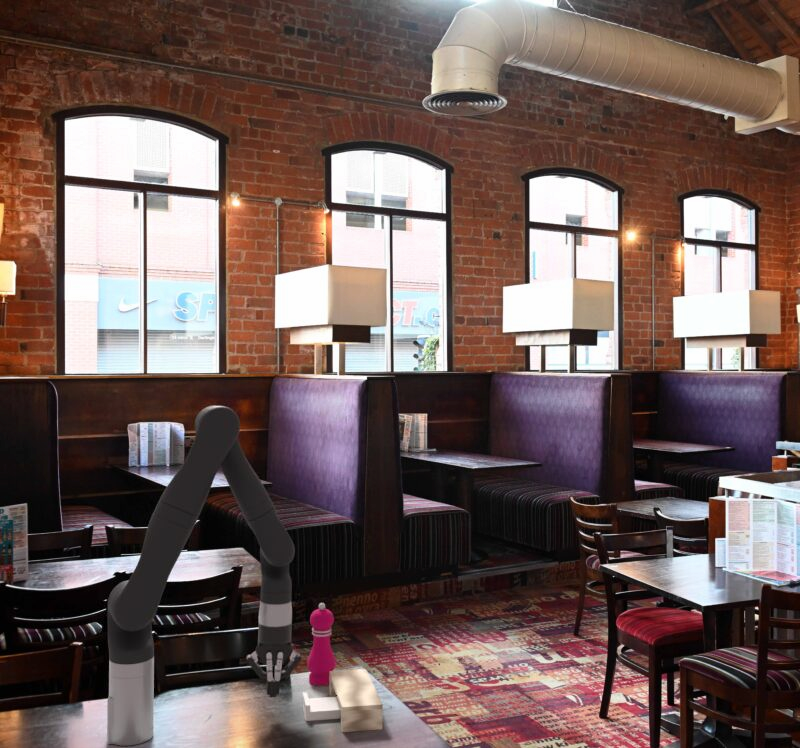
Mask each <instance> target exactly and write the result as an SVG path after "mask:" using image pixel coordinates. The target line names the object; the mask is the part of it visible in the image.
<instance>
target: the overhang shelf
mask: <svg viewBox="0 0 800 748" xmlns="http://www.w3.org/2000/svg"><path fill="white" fill-rule="evenodd" d="M328 688H329V689H328V690H329V692H328V693H329V697H337V698H338V701H339V704H340V707H341V719H340V729H341V732H342V733H350V732H361V731H362V732H363V731H376V730H383V716H384V715H383V711H384V710H383V705H384V704H383V703H382V700H381V699H380V696H379V693H378V692H377V689H376V688H375V685H374V683H373V681H372V679H371V677H370V675H369V673H368V671H367V669H366V668H361V669H360V668H357V669H341V670H333V671H330V672H329V687H328ZM336 695H337V696H336Z"/></svg>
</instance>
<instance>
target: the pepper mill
mask: <svg viewBox="0 0 800 748" xmlns="http://www.w3.org/2000/svg"><path fill="white" fill-rule="evenodd" d="M334 620H335V619H334V615H333V612H332V611H331V610H329V609H327V608H326V604H325V603H324V602H320V603H319V604H318V608H317V609H314V610H313V611H312V613H310V618H309V622H310V625H311V626H312V628H311V631H312V632H311V635H313V642H312V643H313V645H312V648H311V651H310V653H309V655H308V658H307V662H306V663H307V665H306V667H307V669H308V671H309V672H310V673H309V674H308V683H310V684H311V685H313V686H318V687H319V686H322V685H324V686H328V684H329V672H330V671H335V669H336V665H337V664H336V656H335V655H334V652H333V649H332V647H331V646H332V645H331V640H330V639H331V635H332V627H333V626H332V625H333V624H334V622H335V621H334Z"/></svg>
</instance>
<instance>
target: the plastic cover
mask: <svg viewBox="0 0 800 748" xmlns="http://www.w3.org/2000/svg"><path fill="white" fill-rule="evenodd" d="M302 710H303V716H304V720H305V721H306V722H309V721H310V722H311V721H324V720H325V721H326V720H338V719H339V718H340V720H341V707H340V704H339V701H338V698H337V696H327V697H326V696H325V697H311V698H309V695H308V692H302Z"/></svg>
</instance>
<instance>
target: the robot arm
mask: <svg viewBox="0 0 800 748" xmlns="http://www.w3.org/2000/svg"><path fill="white" fill-rule="evenodd" d="M240 429H241V422H240V419H239V416H238V414H237V413H236V411H234V410H233V409H232V408H230V407H228V406H224V405H209V406H207V407H205V408H202V410H201V411H199V413H198V414H197V416H196V418H195V422H194V431H195V436H194V440H193V441H192V442H193V443H192V445H191V447H190V449H189V451H188V453H187V454H188V455H187V456H186V458H185V460H184V462H183V464H182V465H181V466H180V468H179V469H178V471H176V473H175V475H174V476H173V477H172V479H171V480H170V481H169V483H168V484H167V486H166V487H165V489H164V491H163V493H162V495H160V497H159V500H158V502H157V504H156V506H155V509H154V511H153V513H152V514H151V517H150V520H149V521H148V522H149V523H148V525H147V528H146V531H145V532H146V533H145V538H144V541H143V543H142V544H143V545H142V549H141V554H140V557H139V559H138V562H137V564H136V566H135V569H134V570H133V572H132V574H131V576H130V578H129V579H128V580H124V581H121V582H119V583H118V584H117V585H116V586H114V587H113V589H112V591H111V592H110V594H109V597H108V600H107V645H108V646H107V647H108V654H109V655H108V659H109V660H108V662H109V663H108V664H109V666H108V669H109V670H108V698H107V700H106V701H107V704H106V707H107V711H106V712H107V714H106V717H107V718H106V719H107V721H106V722H107V723H106V729H107V731H106V743H107V745H111V744H112V745H116V746H135V745H140V744H143V743H146V742H147V741H149V740H151V739H152V738H153V737H154V729H155V728H154V727H155V726H154V709H155V708H154V706H155V705H154V704H155V698H154V696H155V693H154V688H155V683H154V682H155V681H154V680H155V676H154V675H155V643H154V638H153V629H152V620H153V619H154V618H155V616H156V614H157V612H158V607H159V605H160V602H161V600H162V597H163V596H162V595H164V594H163V593H164V591H165V589H166V585H167V582H168V579H169V577H170V575H171V572H172V570H173V569H174V567H175V564H176V563H177V561H178V559H179V558H180V556H181V553H182V551H183V549H184V547H185V545H186V543H187V542H188V539H189V537H190V536H191V533H192V531H193V530H194V527H195V525H196V523H197V521H198V519H199V516H200V515H201V512H202V510H203V508H204V505H205V502H206V500H207V498H208V496H209V493H210V491H211V487H212V486H213V482H214V480H215V477H216V475H217V473H218V471H219V469H220V470H221V472H222V473H223V475H224V478H225V480H226V482H227V484H228V486H229V488H230V491H231V493H232V495H233V497H234V499H235V501H236V504H237V505H238V507H239V509H240V511H241V513H242V516H243V517H244V519H245V522H246V523H247V525H248V526H249V528H250V530H252V532H253V534H254V535H255V537H256V540H257V542H258V545H259V547H260V548H259V556H260V557H259V558H260V559H259V561H260V562H259V563H260V572H261V583H260V601H259V607H258V608H259V609H258V617H257V618H258V631H257V632H258V633H257V634H258V635H257V645H256V647H255V650H254V651H253V652H251V654H247V655H246V662H247V664H248V665H249V667H251V669H252V670H253V671H254V672H255V674H256V675H257V676H258V678H259V679H261V680H265V681H266V695H267V696H269V698H277V695H279V694H280V688H281V687H280V683H281V682H280V681H281V680H283V679H287V678H288V677H289V676H290V675H291V674H292V672H293V671H294V670H295V668H296V667H297V666H298V664H299V663H301V661H302V655H301V653H300V652H296V651H295V650H294V646H293V644H292V629H293V627H292V625H293V624H292V623H293V622H292V621H293V606H292V594H293V593H292V592H293V591H292V587H293V584H292V583H293V582H292V578H291V575H290V564H291V563H292V561H293V560H294V558H295V553H296V548H295V544H294V542H293V540H292V538H291V536H290V534H289V533H288V531H287V528H286V527H285V526H284V524H283V522H282V520H280V518H279V515H278V513H277V509H276V507H275V505H274V503H273V501H272V499H271V497H270V496H269V493H268V491H267V490H266V488H265V486H264V484H263V482H262V481H261V479H260V478H259V476H258V474H257V473H256V472H255V470H254V469H253V467H252V466H251V464H250V462H249V461H248V459H247V457H246V455H245V453H244V452H243V449H242V446H241V443H240V441H239V438H238V436H239V435H240V431H241V430H240ZM258 657H259V659H260V661H261V662H262V664H264V665H265V666H266V671H265V670H263V668H262V667H261V666H260V664H259V663H258V661H259V659H258ZM289 658H290V661H289V662H288V664H287V665H286V666H285V667H284V668H283V666H282V665H284V664H285V663H286V662H287V660H288V659H289ZM273 666H274V672H273ZM282 668H283V669H282ZM273 673H274V674H273ZM273 675H274V676H273Z"/></svg>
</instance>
